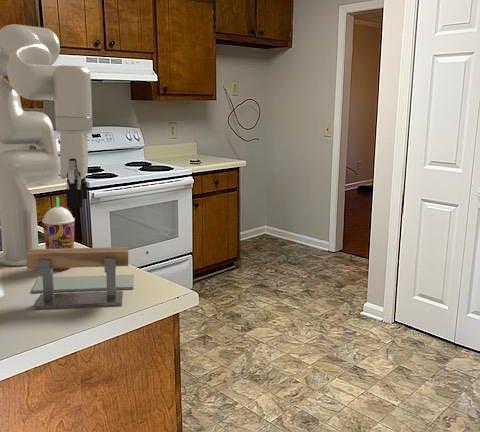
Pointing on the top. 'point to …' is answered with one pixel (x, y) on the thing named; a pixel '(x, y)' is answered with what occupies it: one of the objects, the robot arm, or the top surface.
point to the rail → (77, 257)
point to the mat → (85, 283)
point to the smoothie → (58, 229)
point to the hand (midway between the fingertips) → (77, 203)
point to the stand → (78, 299)
